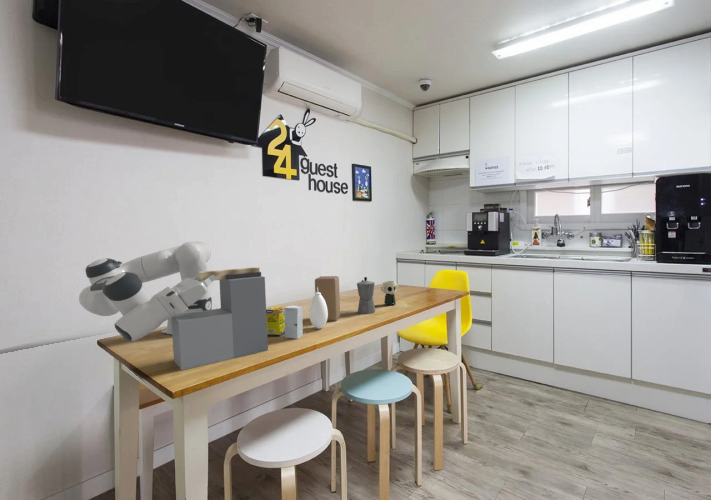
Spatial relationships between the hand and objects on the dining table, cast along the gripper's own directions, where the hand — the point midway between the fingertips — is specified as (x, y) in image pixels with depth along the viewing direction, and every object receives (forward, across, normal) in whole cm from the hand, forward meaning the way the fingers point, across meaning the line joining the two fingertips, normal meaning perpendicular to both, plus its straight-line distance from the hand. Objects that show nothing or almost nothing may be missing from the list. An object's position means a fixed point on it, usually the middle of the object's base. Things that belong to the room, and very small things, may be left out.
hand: (210, 275), depth 120 cm
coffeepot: (+56, -18, -64) cm, 87 cm away
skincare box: (+13, -3, -40) cm, 42 cm away
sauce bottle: (+26, -7, -47) cm, 54 cm away
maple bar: (+5, 0, -5) cm, 7 cm away
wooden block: (+36, -19, -53) cm, 67 cm away
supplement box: (+10, -11, -38) cm, 41 cm away
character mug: (+74, -23, -75) cm, 108 cm away
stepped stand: (-12, 0, -25) cm, 28 cm away
